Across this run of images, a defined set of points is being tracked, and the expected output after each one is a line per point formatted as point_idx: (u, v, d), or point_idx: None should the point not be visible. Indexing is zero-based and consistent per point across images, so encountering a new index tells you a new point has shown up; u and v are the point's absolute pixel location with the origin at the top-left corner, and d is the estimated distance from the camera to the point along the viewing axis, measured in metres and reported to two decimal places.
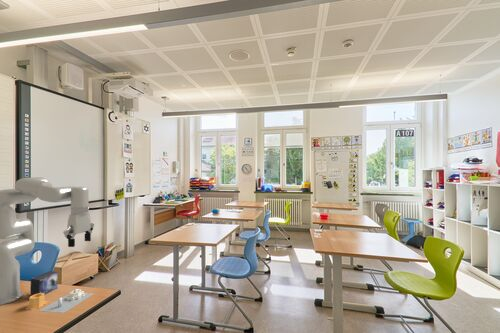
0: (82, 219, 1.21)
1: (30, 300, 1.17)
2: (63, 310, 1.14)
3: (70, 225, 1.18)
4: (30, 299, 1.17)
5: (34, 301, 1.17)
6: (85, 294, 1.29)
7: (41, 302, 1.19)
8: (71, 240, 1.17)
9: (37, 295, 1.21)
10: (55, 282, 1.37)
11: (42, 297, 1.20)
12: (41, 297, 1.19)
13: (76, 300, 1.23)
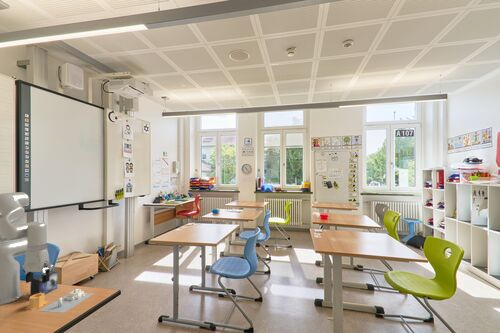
0: None
1: (30, 300, 1.17)
2: (63, 310, 1.14)
3: (45, 260, 1.19)
4: (30, 299, 1.17)
5: (34, 301, 1.17)
6: (85, 294, 1.29)
7: (41, 302, 1.19)
8: (48, 274, 1.20)
9: (37, 295, 1.21)
10: (55, 282, 1.37)
11: (42, 297, 1.20)
12: (41, 297, 1.19)
13: (76, 300, 1.23)
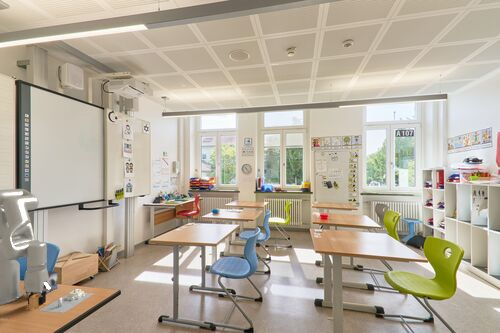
0: None
1: (30, 300, 1.17)
2: (63, 310, 1.14)
3: (45, 280, 1.19)
4: (30, 299, 1.17)
5: (34, 301, 1.17)
6: (85, 294, 1.29)
7: None
8: (44, 296, 1.20)
9: (37, 295, 1.21)
10: (55, 282, 1.37)
11: None
12: None
13: (76, 300, 1.23)
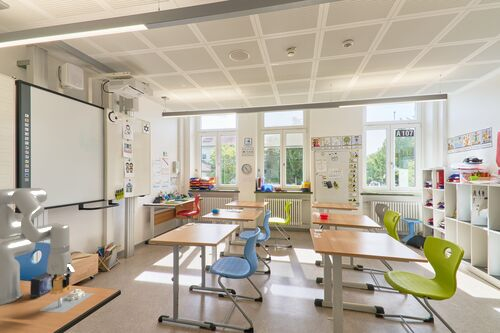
0: None
1: (54, 282, 1.16)
2: (63, 310, 1.14)
3: (68, 262, 1.18)
4: (54, 281, 1.16)
5: (58, 283, 1.16)
6: (85, 294, 1.29)
7: None
8: None
9: (60, 278, 1.20)
10: None
11: None
12: None
13: (76, 300, 1.23)
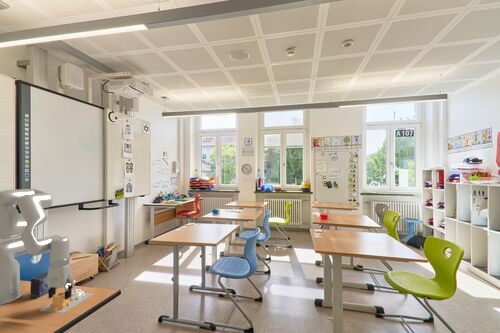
0: None
1: (53, 299, 1.16)
2: (63, 310, 1.14)
3: (68, 276, 1.17)
4: (53, 298, 1.16)
5: (57, 300, 1.16)
6: (85, 294, 1.29)
7: (64, 301, 1.18)
8: None
9: (60, 294, 1.20)
10: None
11: None
12: (64, 296, 1.18)
13: (76, 300, 1.23)
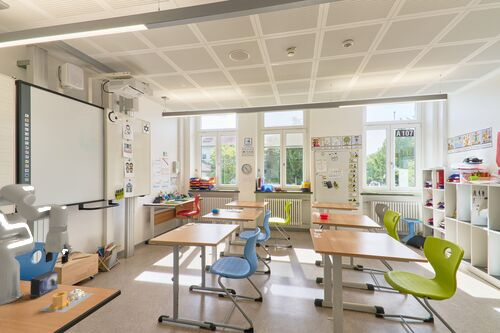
0: None
1: (53, 299, 1.16)
2: (63, 310, 1.14)
3: (65, 242, 1.22)
4: (53, 298, 1.16)
5: (57, 300, 1.16)
6: (85, 294, 1.29)
7: (64, 301, 1.18)
8: (67, 256, 1.23)
9: (60, 294, 1.20)
10: (55, 282, 1.37)
11: (65, 296, 1.18)
12: (64, 296, 1.18)
13: (76, 300, 1.23)
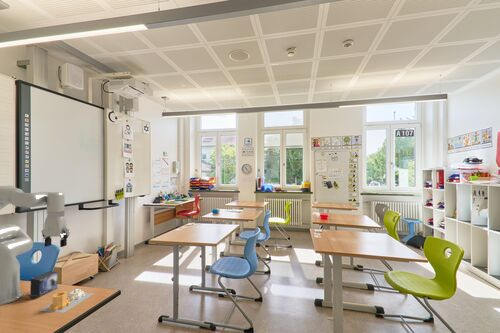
0: None
1: (53, 299, 1.16)
2: (63, 310, 1.14)
3: (63, 226, 1.28)
4: (53, 298, 1.16)
5: (57, 300, 1.16)
6: (85, 294, 1.29)
7: (64, 301, 1.18)
8: None
9: (60, 294, 1.20)
10: (55, 282, 1.37)
11: (65, 296, 1.18)
12: (64, 296, 1.18)
13: (76, 300, 1.23)
